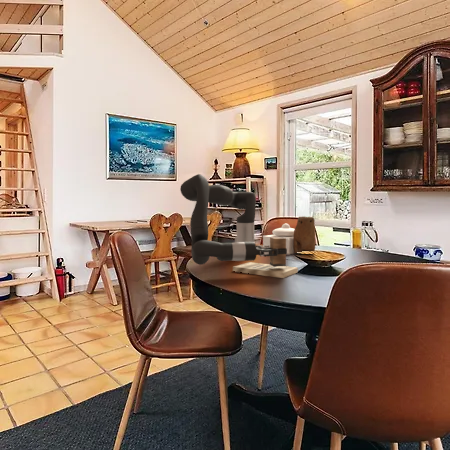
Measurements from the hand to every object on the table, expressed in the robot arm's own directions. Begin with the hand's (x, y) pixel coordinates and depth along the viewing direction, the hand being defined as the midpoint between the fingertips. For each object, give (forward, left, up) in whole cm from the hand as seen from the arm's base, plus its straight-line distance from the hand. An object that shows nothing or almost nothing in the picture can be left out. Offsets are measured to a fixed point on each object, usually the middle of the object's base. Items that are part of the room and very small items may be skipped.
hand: (284, 250), depth 154 cm
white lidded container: (-27, +56, -10) cm, 63 cm away
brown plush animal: (-14, +51, -10) cm, 54 cm away
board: (-8, -2, -9) cm, 12 cm away
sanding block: (-2, -2, -6) cm, 7 cm away
